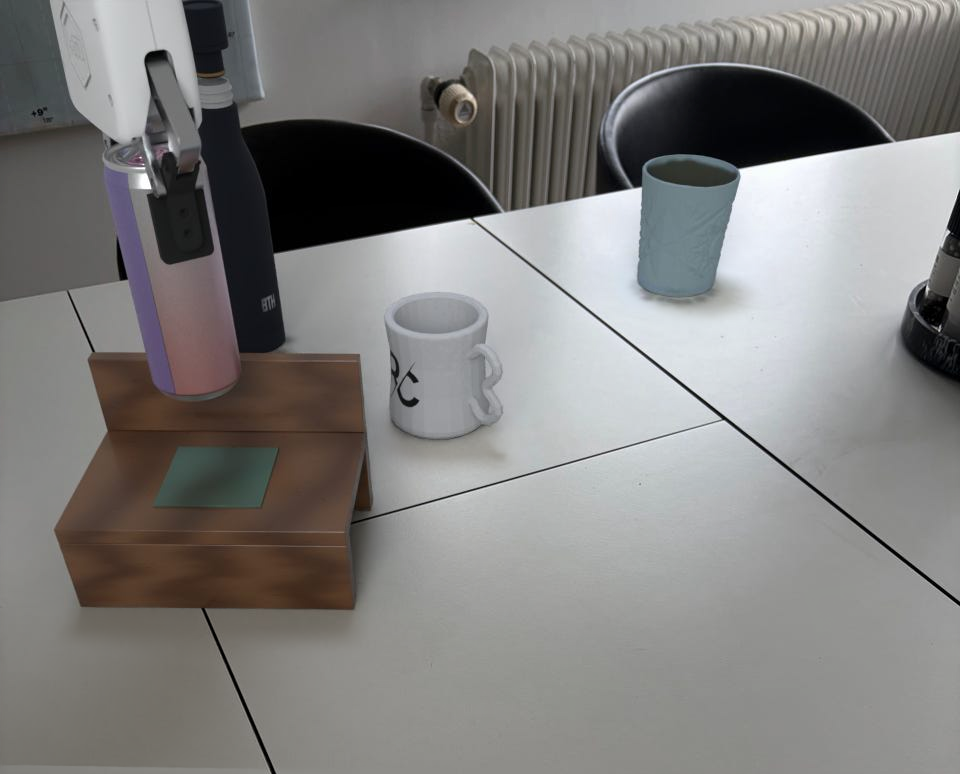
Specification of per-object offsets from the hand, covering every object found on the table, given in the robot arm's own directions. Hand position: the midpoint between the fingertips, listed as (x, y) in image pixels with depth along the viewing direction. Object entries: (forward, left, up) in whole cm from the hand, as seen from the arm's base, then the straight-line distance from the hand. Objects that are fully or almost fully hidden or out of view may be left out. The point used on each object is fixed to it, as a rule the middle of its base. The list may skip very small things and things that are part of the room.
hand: (167, 237), depth 64 cm
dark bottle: (-5, +35, -24) cm, 43 cm away
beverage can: (0, 0, -10) cm, 10 cm away
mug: (+16, +19, -24) cm, 35 cm away
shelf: (0, 0, -24) cm, 24 cm away
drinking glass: (+40, +50, -24) cm, 69 cm away
